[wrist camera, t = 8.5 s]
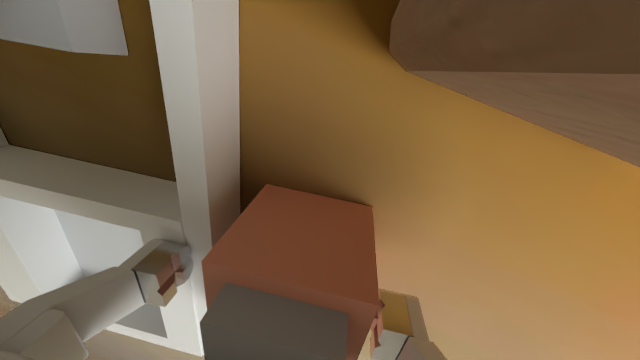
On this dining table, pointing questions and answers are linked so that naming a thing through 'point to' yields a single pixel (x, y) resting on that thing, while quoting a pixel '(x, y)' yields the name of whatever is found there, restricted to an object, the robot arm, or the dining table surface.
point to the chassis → (123, 186)
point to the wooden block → (534, 61)
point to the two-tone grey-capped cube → (291, 280)
